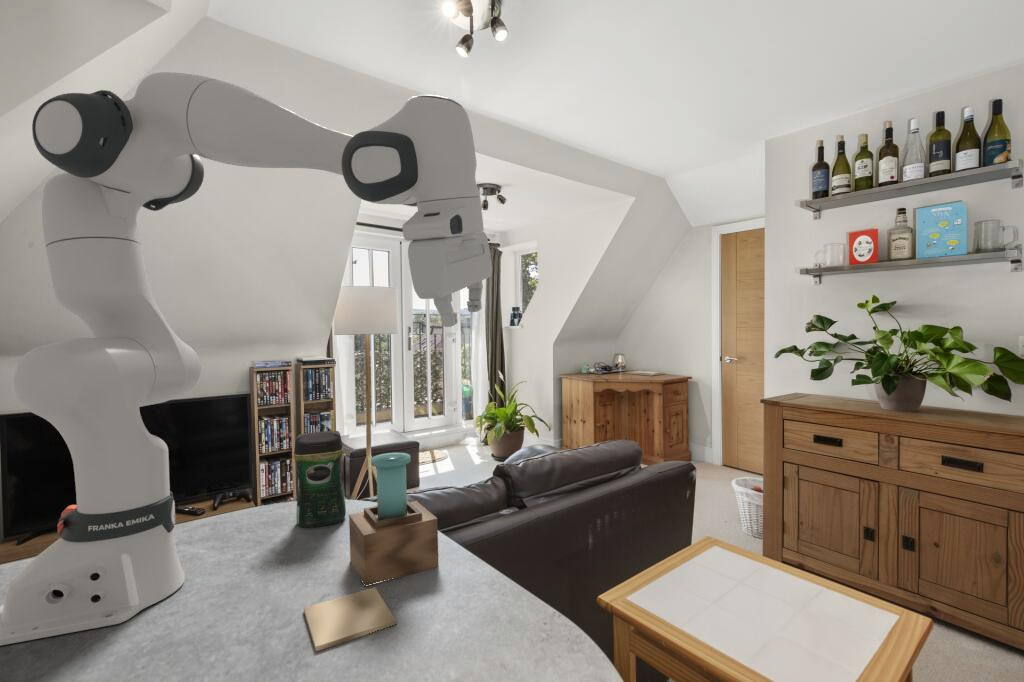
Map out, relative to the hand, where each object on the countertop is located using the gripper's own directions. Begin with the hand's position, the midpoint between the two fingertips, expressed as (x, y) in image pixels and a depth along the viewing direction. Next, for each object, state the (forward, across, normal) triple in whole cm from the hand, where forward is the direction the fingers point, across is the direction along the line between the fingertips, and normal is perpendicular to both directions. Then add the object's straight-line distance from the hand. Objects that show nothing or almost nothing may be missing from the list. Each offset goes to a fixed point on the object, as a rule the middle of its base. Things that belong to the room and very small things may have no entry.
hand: (463, 318), depth 72 cm
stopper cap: (+33, +3, -16) cm, 37 cm away
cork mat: (+37, +20, -13) cm, 44 cm away
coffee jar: (+44, -7, -41) cm, 60 cm away
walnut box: (+41, +5, -16) cm, 44 cm away
